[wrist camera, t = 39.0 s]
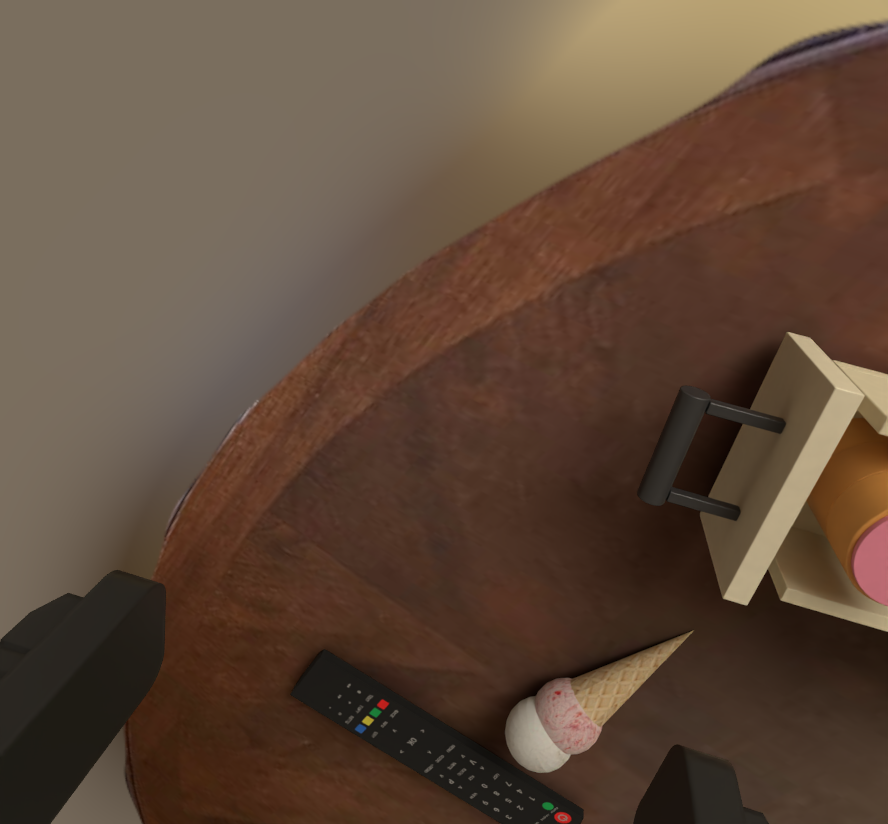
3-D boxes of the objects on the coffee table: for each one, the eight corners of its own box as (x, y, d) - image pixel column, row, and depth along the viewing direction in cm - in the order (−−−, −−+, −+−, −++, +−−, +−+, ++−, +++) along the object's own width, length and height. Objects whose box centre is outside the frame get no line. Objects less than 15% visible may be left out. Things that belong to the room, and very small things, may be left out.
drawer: (615, 490, 39) (621, 569, 32) (689, 305, 33) (713, 355, 27) (938, 583, 37) (1013, 685, 31) (1066, 404, 32) (1189, 482, 26)
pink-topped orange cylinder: (822, 405, 33) (888, 489, 26) (933, 434, 33) (1031, 528, 26) (776, 493, 36) (824, 592, 28) (878, 521, 35) (953, 630, 28)
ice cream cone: (670, 592, 45) (500, 708, 48) (670, 605, 41) (483, 733, 44) (716, 652, 44) (539, 768, 47) (722, 673, 40) (526, 799, 43)
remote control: (327, 642, 49) (320, 656, 48) (589, 805, 51) (589, 822, 50) (297, 680, 52) (290, 694, 51) (548, 835, 54) (547, 852, 53)
